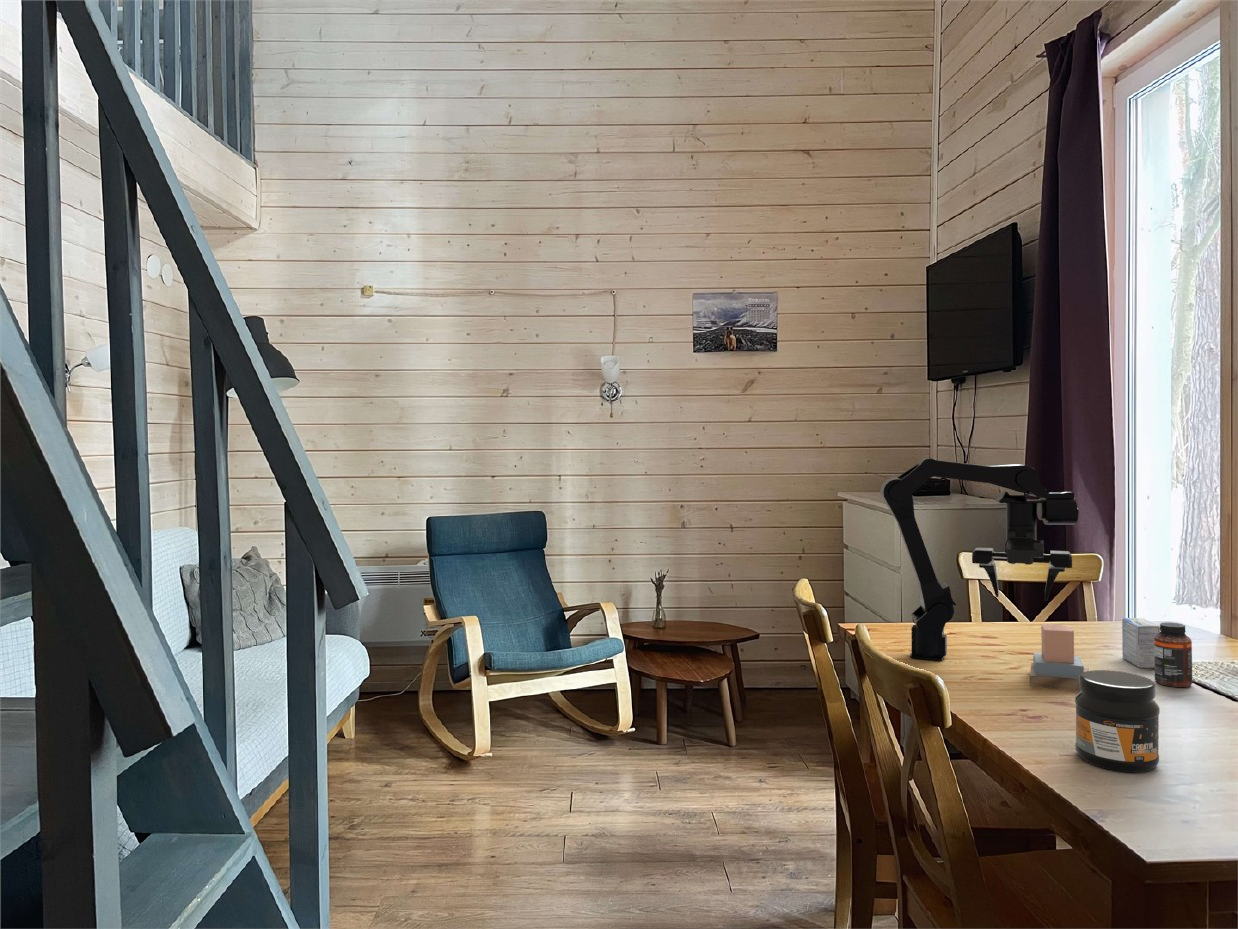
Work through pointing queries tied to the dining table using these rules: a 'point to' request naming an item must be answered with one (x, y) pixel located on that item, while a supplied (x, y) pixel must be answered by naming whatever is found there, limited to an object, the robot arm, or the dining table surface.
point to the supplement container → (1117, 721)
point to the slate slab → (1057, 667)
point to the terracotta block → (1057, 643)
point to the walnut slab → (1054, 681)
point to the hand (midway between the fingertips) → (1021, 598)
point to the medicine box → (1139, 641)
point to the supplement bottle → (1173, 656)
